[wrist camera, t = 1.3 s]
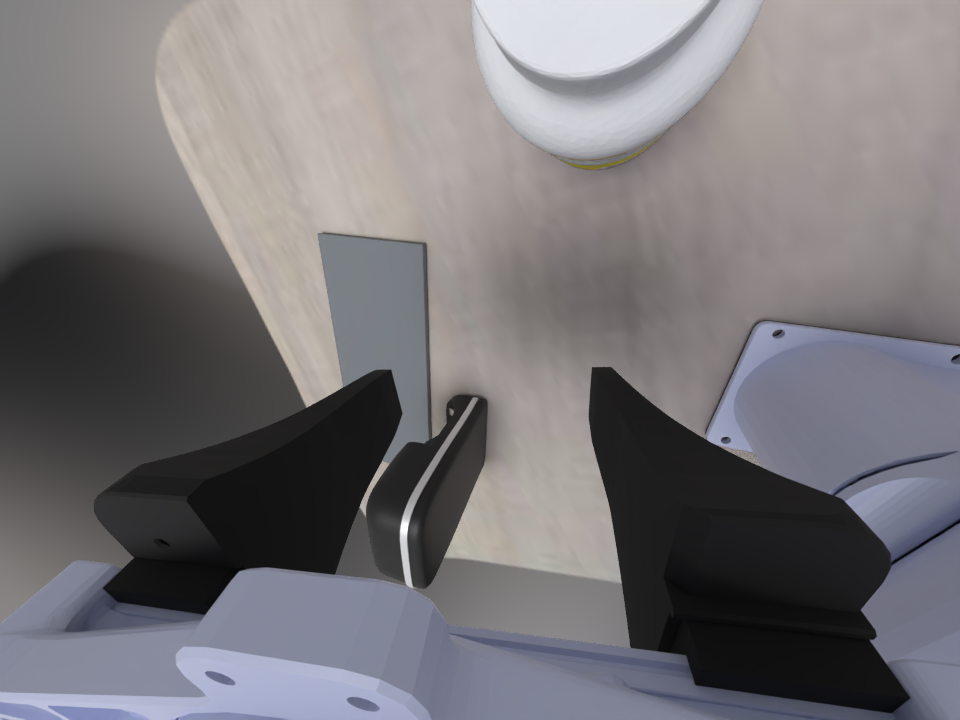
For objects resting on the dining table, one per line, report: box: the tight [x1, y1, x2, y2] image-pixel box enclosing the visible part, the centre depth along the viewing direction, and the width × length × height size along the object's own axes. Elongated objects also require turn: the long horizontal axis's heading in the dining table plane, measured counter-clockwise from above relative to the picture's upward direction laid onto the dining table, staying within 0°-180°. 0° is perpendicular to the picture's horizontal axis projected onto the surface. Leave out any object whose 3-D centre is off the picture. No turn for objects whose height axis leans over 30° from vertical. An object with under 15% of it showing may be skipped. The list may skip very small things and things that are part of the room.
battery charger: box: [366, 396, 487, 589], centre depth 23 cm, size 7×4×11 cm, turn 179°
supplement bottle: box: [472, 0, 764, 170], centre depth 10 cm, size 7×7×13 cm
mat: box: [318, 233, 431, 463], centre depth 27 cm, size 8×20×1 cm, turn 178°
